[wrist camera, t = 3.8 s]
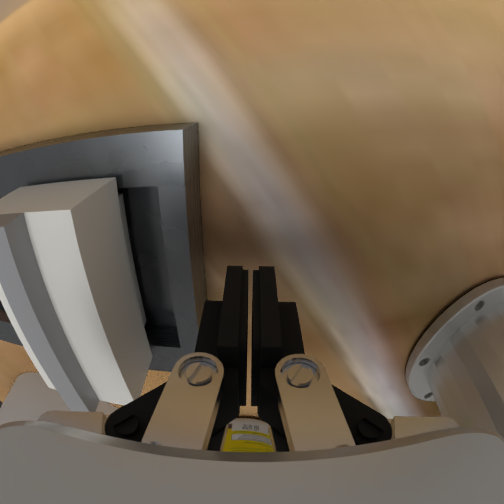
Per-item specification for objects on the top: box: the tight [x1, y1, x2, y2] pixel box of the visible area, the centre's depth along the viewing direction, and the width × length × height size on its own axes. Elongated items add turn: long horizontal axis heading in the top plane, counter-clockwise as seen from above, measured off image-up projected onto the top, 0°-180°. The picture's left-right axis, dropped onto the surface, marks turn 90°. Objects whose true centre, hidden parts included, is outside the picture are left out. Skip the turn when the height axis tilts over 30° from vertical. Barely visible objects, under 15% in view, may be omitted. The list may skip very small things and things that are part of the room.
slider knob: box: [0, 177, 153, 412], centre depth 11 cm, size 5×9×6 cm, turn 179°
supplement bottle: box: [223, 418, 273, 452], centre depth 19 cm, size 6×6×10 cm
